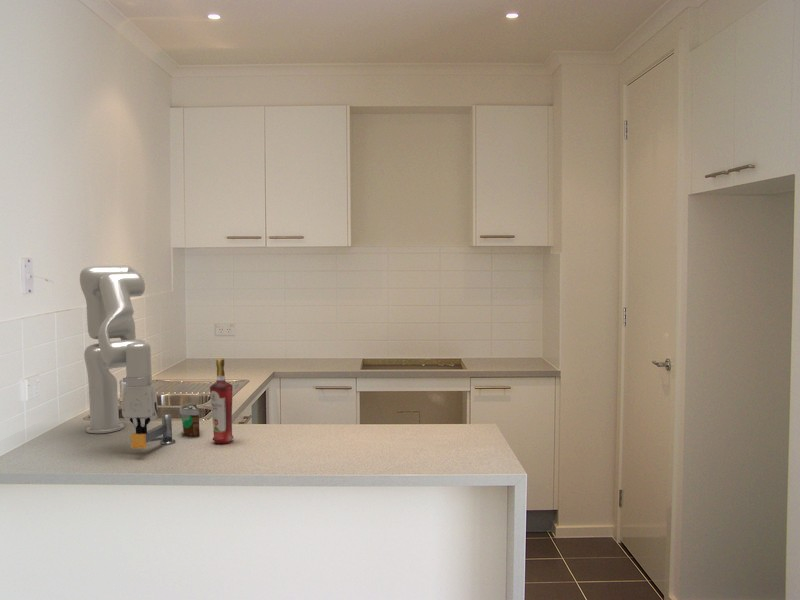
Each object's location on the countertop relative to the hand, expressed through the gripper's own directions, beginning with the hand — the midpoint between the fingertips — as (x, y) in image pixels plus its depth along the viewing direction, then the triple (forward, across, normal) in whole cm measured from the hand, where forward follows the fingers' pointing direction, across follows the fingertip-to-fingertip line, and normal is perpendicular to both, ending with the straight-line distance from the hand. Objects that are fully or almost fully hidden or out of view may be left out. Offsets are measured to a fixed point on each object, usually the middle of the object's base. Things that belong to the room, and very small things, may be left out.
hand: (141, 438), depth 223 cm
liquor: (+5, +22, +12) cm, 26 cm away
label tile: (+5, -4, +17) cm, 18 cm away
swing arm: (+1, +3, 0) cm, 3 cm away
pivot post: (+5, +4, +11) cm, 12 cm away
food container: (+5, +7, +22) cm, 23 cm away
